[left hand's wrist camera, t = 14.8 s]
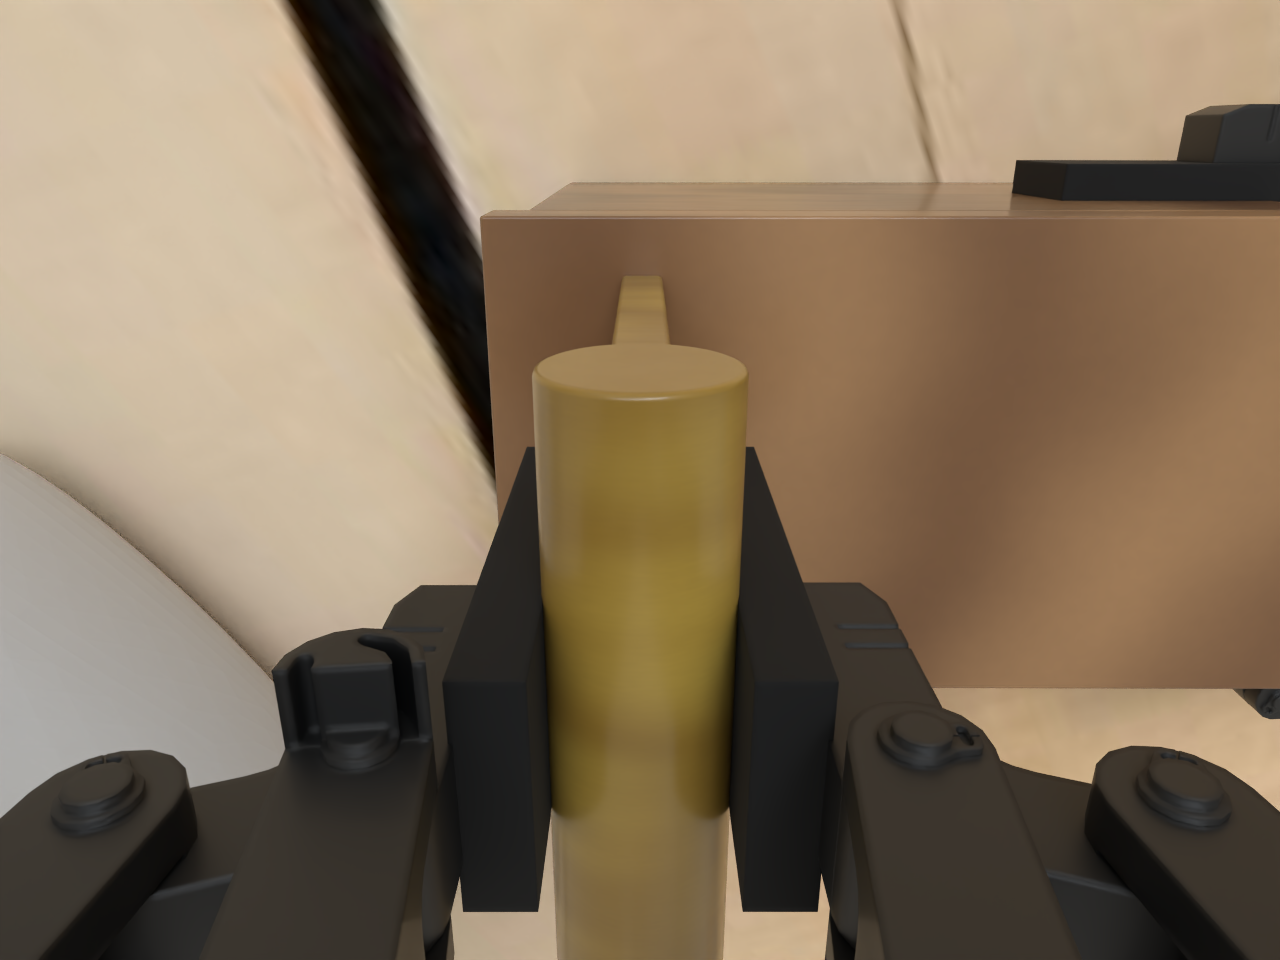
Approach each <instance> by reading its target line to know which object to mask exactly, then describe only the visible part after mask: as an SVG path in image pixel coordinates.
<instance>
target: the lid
mask: <svg viewBox="0 0 1280 960" xmlns="http://www.w3.org/2000/svg"><path fill="white" fill-rule="evenodd" d="M480 226H481V242H482V258H483V275H484V291H485V308H486V324H487V340H488V357H489V373H490V390H491V406H492V422H493V439H494V455H495V472H496V488H497V504H498V521H499V523H500V520H501V517H502V514H503V512H504V509H505V506H506V503H507V500H508V498H509V495H510V492H511V489H512V487H513V484H514V481H515V478H516V476H517V473H518V470H519V467H520V464H521V462H522V459H523V456H524V453H525V451H526V448H527V447H535V458H536V481H537V503H538V526H539V549H540V572H541V595H542V600H543V620H544V643H545V666H546V689H547V712H548V735H549V758H550V781H551V804H552V809H551V824H552V846H553V869H554V892H555V915H556V938H557V958H558V960H723V947H724V925H725V902H726V880H727V858H728V835H729V813H730V810H729V796H730V774H731V751H732V729H733V706H734V683H735V661H736V638H737V615H738V599H739V589H740V567H741V544H742V522H743V499H744V477H745V455H746V447H754V448H755V451H756V454H757V456H758V459H759V462H760V465H761V468H762V470H763V473H764V476H765V479H766V481H767V484H768V487H769V490H770V492H771V495H772V498H773V501H774V503H775V506H776V509H777V512H778V515H779V517H780V520H781V523H782V526H783V528H784V531H785V534H786V537H787V539H788V542H789V545H790V548H791V550H792V553H793V556H794V559H795V562H796V564H797V567H798V570H799V573H800V575H801V578H802V581H803V582H860V583H862V584H863V585H864V586H866V587H867V588H869V589H870V590H871V591H873V592H874V593H875V594H877V595H878V596H879V597H881V598H882V599H883V600H885V601H886V602H887V603H888V605H889V607H890V609H891V611H892V613H893V615H894V617H895V619H896V621H897V623H898V624H899V629H901V630H902V632H903V634H904V636H905V638H906V640H907V642H908V643H909V645H908V646H909V648H911V649H912V651H913V653H914V655H915V657H916V659H917V661H918V662H919V664H920V666H921V668H922V670H923V672H924V674H925V676H926V678H927V680H928V681H929V683H930V685H931V687H932V688H1196V689H1280V211H609V210H493V211H491V212H489V213H487V214H485V215H483V216H481V218H480Z"/></svg>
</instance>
